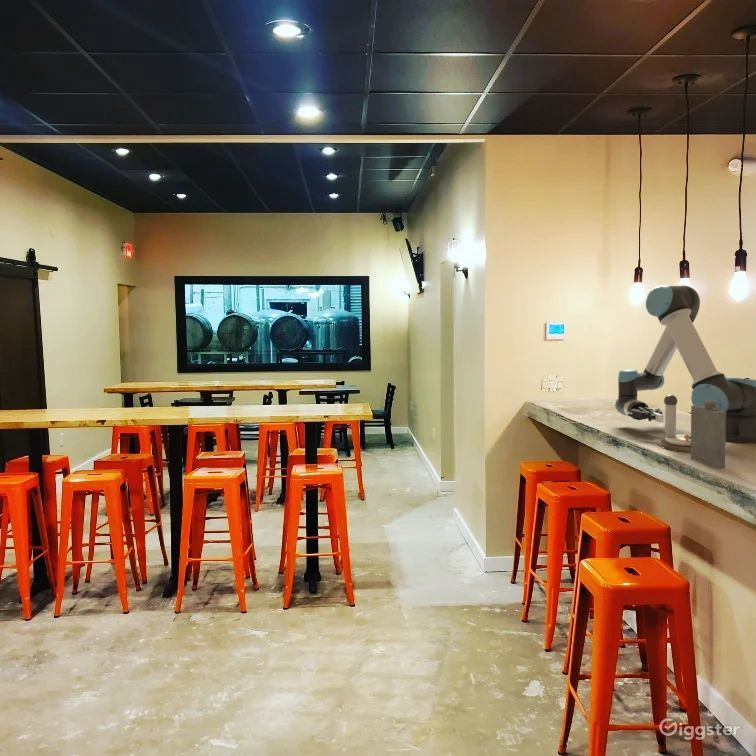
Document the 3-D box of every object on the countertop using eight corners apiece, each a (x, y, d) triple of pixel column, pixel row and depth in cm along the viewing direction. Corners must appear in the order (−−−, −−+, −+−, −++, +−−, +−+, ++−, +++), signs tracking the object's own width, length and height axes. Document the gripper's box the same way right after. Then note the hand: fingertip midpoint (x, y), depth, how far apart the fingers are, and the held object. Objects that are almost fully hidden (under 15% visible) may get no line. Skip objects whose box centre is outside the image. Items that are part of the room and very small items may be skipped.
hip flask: (688, 457, 208) (689, 398, 206) (700, 457, 208) (701, 397, 206) (717, 468, 192) (718, 404, 190) (729, 468, 192) (731, 403, 190)
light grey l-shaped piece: (713, 439, 226) (714, 393, 225) (711, 447, 213) (712, 398, 212) (666, 436, 234) (666, 392, 233) (660, 444, 221) (661, 397, 220)
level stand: (701, 441, 233) (701, 427, 232) (727, 451, 215) (727, 436, 214) (652, 443, 233) (652, 429, 232) (674, 453, 215) (674, 438, 215)
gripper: (652, 418, 256) (679, 428, 233) (620, 419, 257) (643, 429, 233) (652, 400, 256) (679, 408, 232) (620, 401, 256) (643, 409, 232)
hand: (661, 418), depth 233 cm, fingers closed
